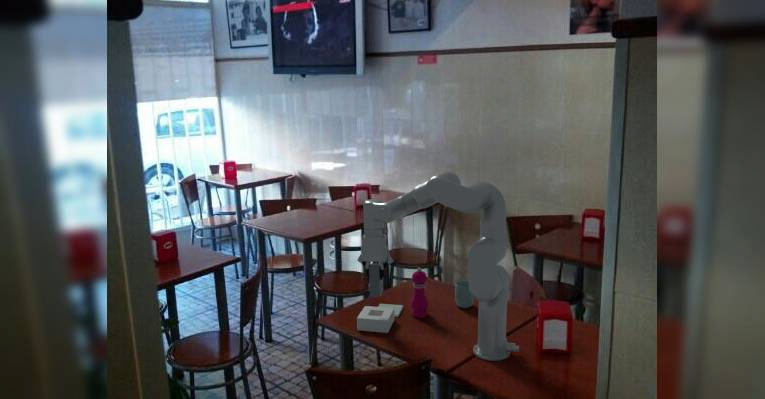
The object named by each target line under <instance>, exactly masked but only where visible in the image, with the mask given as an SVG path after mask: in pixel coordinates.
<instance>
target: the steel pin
mask: <svg viewBox="0 0 765 399" xmlns="http://www.w3.org/2000/svg"><path fill="white" fill-rule="evenodd" d="M380 268H381V267H380V263H379V262H371V263H370V266H369V279H368V281H369V297H373V298H376V297H377V298H380V297H381V296H382V295H383V293H384V292H383V279H382V280H380Z"/></svg>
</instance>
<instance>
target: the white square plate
mask: <svg viewBox="0 0 765 399" xmlns="http://www.w3.org/2000/svg"><path fill="white" fill-rule="evenodd" d="M377 307H385V308H394V318H399V317H400V315H401V313H402V311H403V309H404V304H403V305H402V304H392V303H391V304H389V303H379V304H378V306H377Z"/></svg>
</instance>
